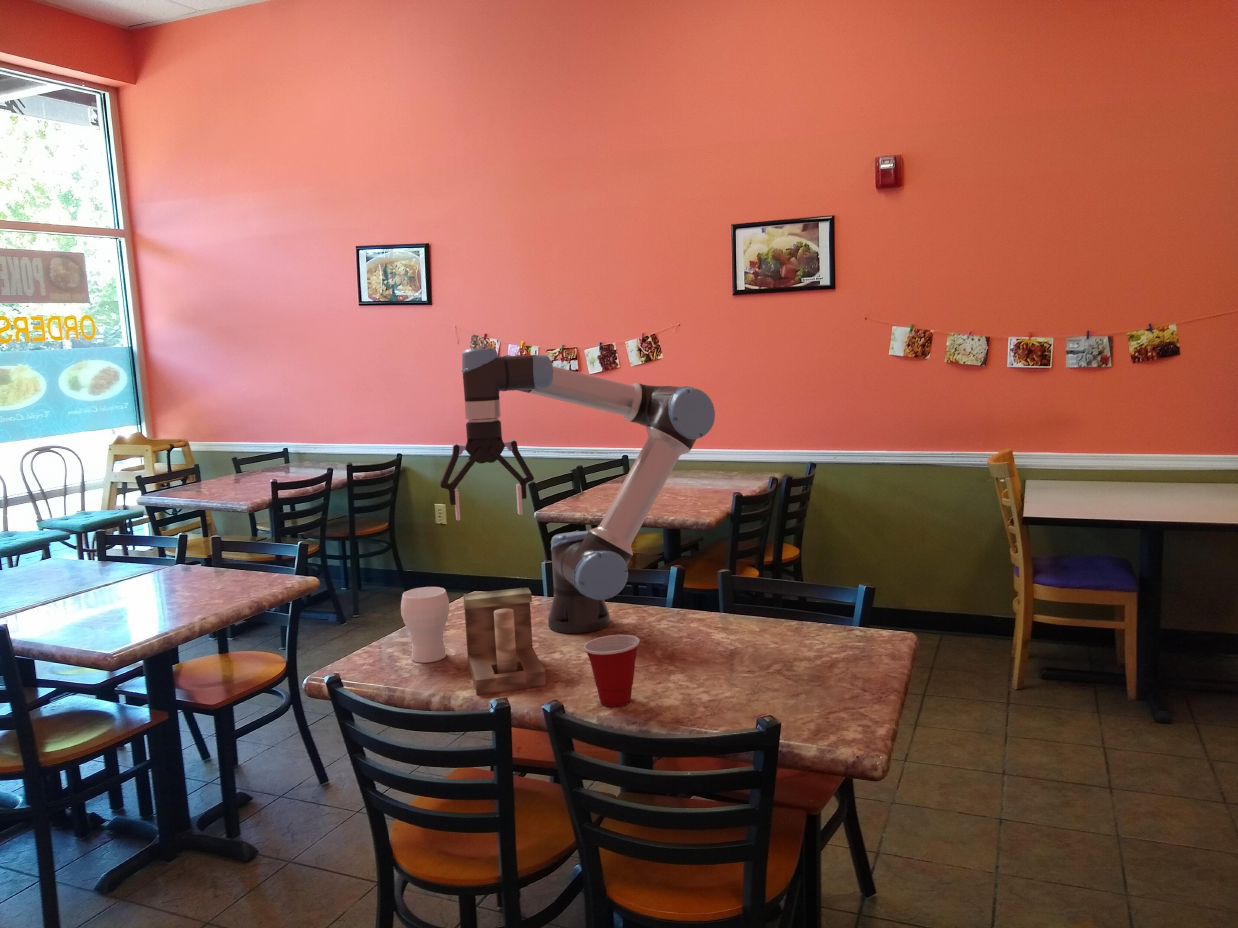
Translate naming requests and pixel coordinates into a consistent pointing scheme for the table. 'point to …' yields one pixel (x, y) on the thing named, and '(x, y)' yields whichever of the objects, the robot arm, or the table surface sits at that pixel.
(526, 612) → the socket block
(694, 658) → the table surface
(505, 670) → the peg
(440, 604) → the cup
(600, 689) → the plastic cup
